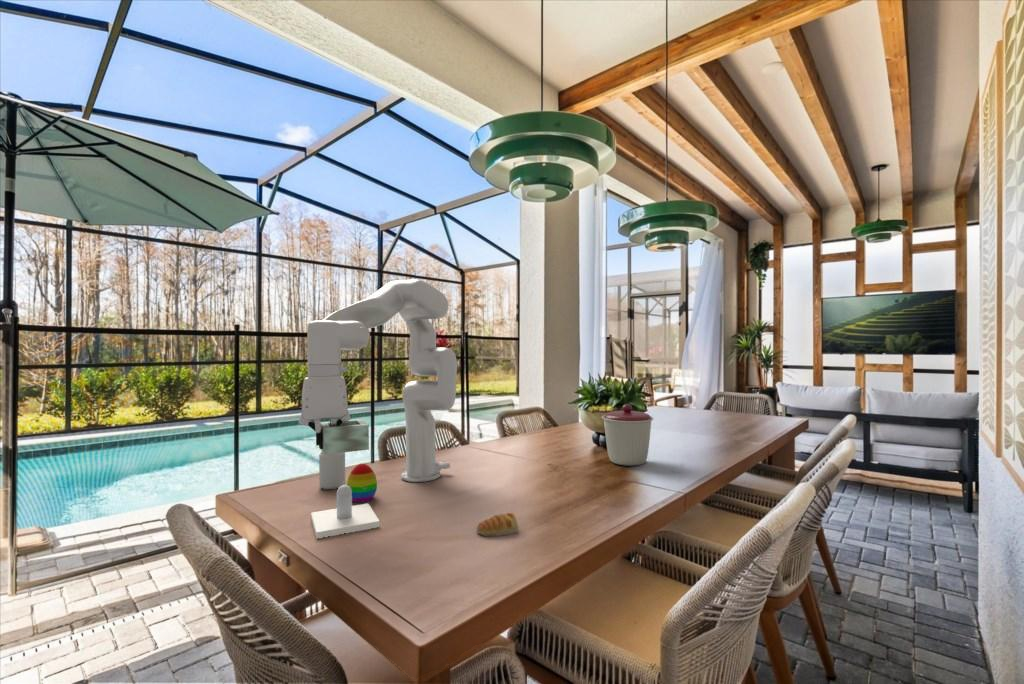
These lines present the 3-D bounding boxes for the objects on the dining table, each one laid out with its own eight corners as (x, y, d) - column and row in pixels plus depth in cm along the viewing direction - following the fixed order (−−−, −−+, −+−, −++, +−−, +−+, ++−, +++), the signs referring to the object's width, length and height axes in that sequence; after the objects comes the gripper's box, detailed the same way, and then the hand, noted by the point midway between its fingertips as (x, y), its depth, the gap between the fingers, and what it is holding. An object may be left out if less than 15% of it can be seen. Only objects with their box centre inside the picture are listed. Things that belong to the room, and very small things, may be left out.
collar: (361, 442, 123) (361, 419, 123) (368, 449, 114) (368, 424, 114) (320, 446, 118) (320, 422, 118) (324, 454, 109) (324, 428, 109)
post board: (368, 508, 125) (367, 474, 125) (379, 527, 113) (379, 488, 113) (311, 518, 119) (310, 481, 119) (316, 539, 107) (316, 498, 106)
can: (313, 489, 143) (313, 449, 143) (331, 482, 150) (331, 444, 150) (333, 492, 140) (332, 451, 140) (350, 484, 147) (350, 446, 147)
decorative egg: (373, 503, 130) (373, 467, 130) (343, 504, 129) (342, 468, 129) (379, 494, 138) (379, 459, 138) (351, 494, 137) (351, 460, 137)
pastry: (483, 541, 105) (483, 524, 105) (472, 530, 111) (472, 514, 111) (520, 533, 109) (520, 517, 109) (508, 523, 115) (508, 508, 115)
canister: (623, 471, 159) (622, 409, 159) (592, 459, 175) (591, 402, 175) (664, 465, 166) (664, 405, 166) (631, 454, 183) (631, 400, 183)
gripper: (355, 369, 121) (356, 441, 121) (288, 372, 114) (289, 448, 114) (360, 371, 114) (361, 447, 114) (289, 374, 107) (290, 455, 107)
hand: (325, 447), depth 114 cm, fingers closed on collar, 1 cm apart
